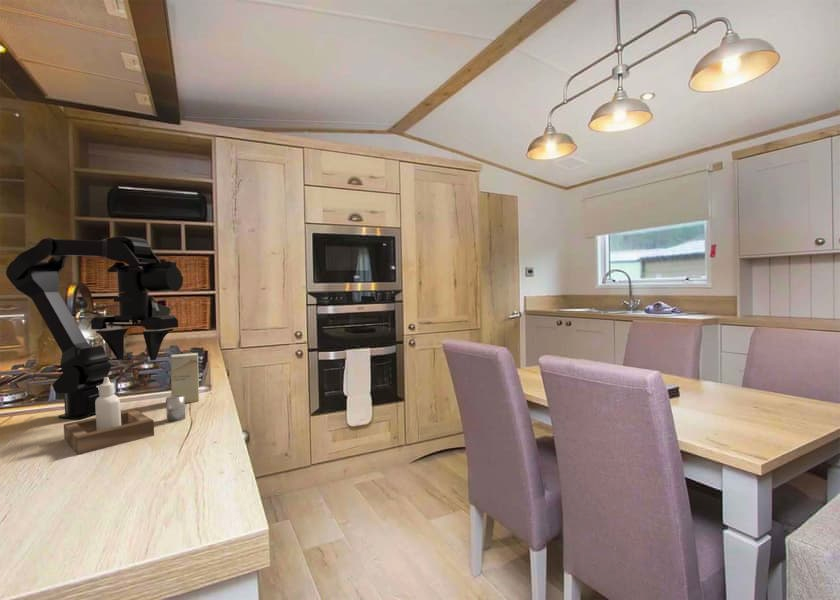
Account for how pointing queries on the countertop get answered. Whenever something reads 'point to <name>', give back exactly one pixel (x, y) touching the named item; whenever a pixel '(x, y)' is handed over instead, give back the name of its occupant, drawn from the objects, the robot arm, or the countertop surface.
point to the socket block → (107, 432)
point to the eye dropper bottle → (107, 407)
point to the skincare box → (185, 376)
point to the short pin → (175, 408)
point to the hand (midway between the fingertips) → (136, 359)
